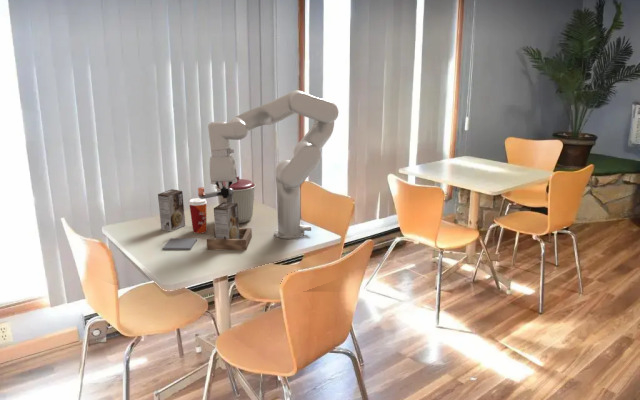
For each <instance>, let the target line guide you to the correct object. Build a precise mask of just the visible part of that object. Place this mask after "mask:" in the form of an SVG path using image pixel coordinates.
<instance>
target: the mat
mask: <svg viewBox="0 0 640 400" xmlns="http://www.w3.org/2000/svg"><path fill="white" fill-rule="evenodd" d="M196 242H198V238H185V237H184V238H183V237H181V238H180V237H179V238H173V237H172V238H169V240H167V242H166V243H165V244H164V246H163V247H162V251H191V250H192V248H193V247H194V245H195V244H196Z"/></svg>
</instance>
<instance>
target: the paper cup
mask: <svg viewBox="0 0 640 400" xmlns="http://www.w3.org/2000/svg"><path fill="white" fill-rule="evenodd" d="M207 203H208V201H207V198H205V199H200V198H199V197H196V198H195V197H194V198H191V199H189V202H188V205H189V210H190V212H189V213H190V218H191V226H192V231H193V233H194V234H203V233H206V232H207V222H208V221H207V220H208V219H207Z"/></svg>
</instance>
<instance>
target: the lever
mask: <svg viewBox="0 0 640 400" xmlns="http://www.w3.org/2000/svg"><path fill="white" fill-rule="evenodd" d="M197 193H198V194H197V195H198V198H200V199H209V198H213V197H214V198H215V197H218V196H221V191H217V190H216V191H212V192H211V191H210V192H206V193H205V188H204V187H202V186H201V187H198V188H197ZM232 194H233V188H229V195H232Z"/></svg>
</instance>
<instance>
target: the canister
mask: <svg viewBox="0 0 640 400" xmlns="http://www.w3.org/2000/svg"><path fill="white" fill-rule="evenodd" d="M236 178H237V183H234V184H231V185H230V186H229V188H233V203H238V220H239V224H244V223H247V222H248V221H251V219H252V218H253V215H254V214H253V212H254V203H255V202H254V201H255V188H256V186H257V184H256V183H255V182H253V181H251V180H249V179H244V178H240V176H239V175H237V177H236ZM225 183H226V181H223V185H224V187H225ZM214 186H215V189H216V191H221V189H220V188H219V187H218V186H217V185H214ZM217 198H218V205H220V204H222V203H223V202H227V198H224V199H223V196H222V195H221V196H217Z"/></svg>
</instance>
